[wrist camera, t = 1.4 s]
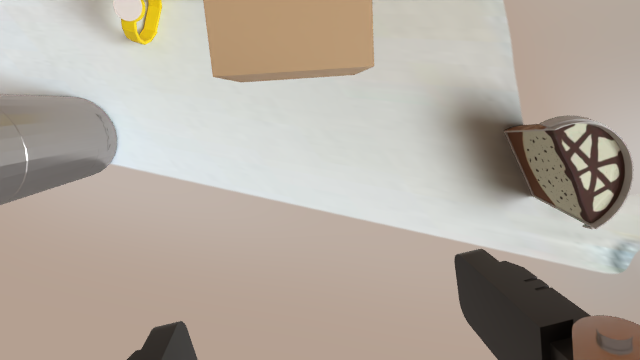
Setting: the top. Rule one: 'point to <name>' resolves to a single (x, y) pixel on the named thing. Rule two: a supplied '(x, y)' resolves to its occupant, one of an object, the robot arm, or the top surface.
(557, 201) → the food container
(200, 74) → the top surface
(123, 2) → the watch
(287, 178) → the top surface
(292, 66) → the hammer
